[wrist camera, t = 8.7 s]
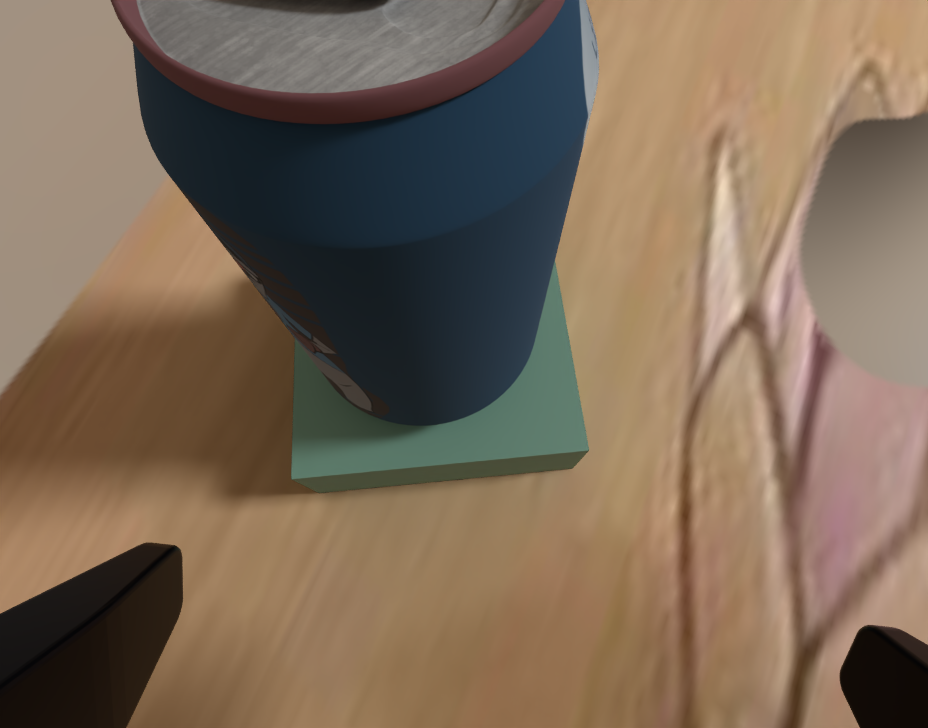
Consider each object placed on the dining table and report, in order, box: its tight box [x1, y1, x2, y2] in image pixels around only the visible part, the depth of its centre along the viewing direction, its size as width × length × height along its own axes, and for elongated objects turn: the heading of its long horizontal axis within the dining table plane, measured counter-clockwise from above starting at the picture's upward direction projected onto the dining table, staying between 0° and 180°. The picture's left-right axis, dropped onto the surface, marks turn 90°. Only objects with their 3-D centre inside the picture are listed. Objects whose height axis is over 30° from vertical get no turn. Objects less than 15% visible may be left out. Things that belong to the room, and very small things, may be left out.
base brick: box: [291, 262, 589, 493], centre depth 19 cm, size 10×9×3 cm
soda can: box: [111, 0, 599, 426], centre depth 12 cm, size 7×7×12 cm
